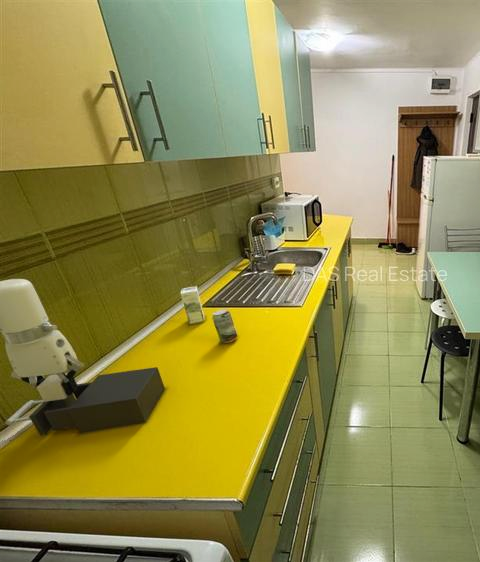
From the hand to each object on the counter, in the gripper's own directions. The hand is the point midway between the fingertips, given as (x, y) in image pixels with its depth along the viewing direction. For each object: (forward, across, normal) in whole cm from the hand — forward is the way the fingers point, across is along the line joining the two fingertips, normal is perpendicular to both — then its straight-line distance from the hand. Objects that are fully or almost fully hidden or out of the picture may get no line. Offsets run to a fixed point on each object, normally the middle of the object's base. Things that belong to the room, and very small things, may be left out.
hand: (60, 392), depth 77 cm
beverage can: (+8, -32, -30) cm, 45 cm away
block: (0, 0, 0) cm, 0 cm away
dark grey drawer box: (+8, -12, 0) cm, 15 cm away
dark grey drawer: (+8, 0, 0) cm, 8 cm away
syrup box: (+9, -16, -49) cm, 52 cm away
